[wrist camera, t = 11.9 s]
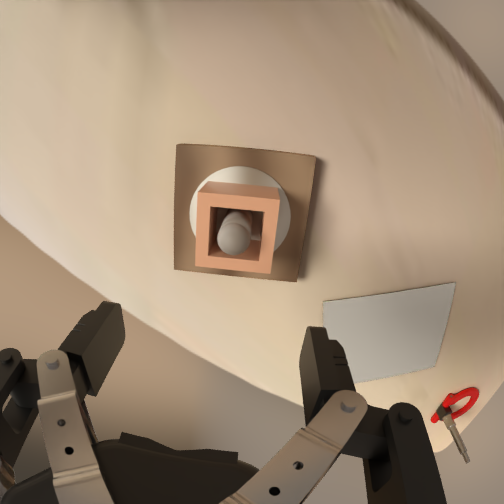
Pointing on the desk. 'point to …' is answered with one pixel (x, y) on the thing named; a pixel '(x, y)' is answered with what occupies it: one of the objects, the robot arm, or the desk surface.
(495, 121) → the desk surface
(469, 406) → the tow hook
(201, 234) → the collar
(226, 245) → the post stand
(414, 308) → the grey flat panel
